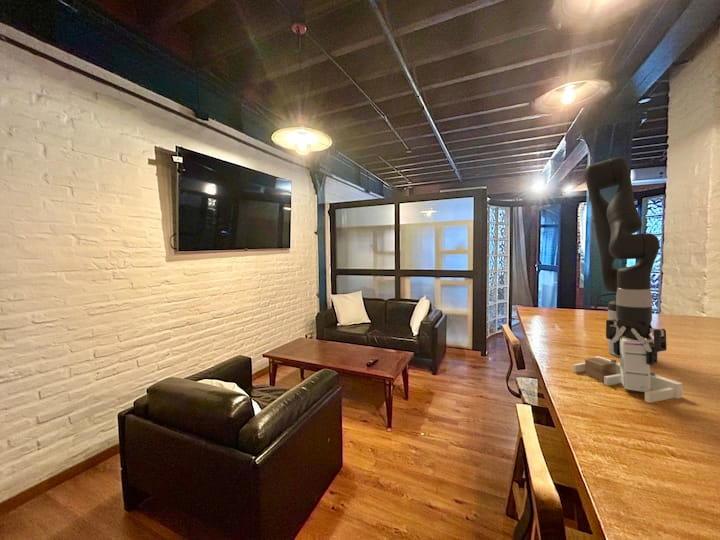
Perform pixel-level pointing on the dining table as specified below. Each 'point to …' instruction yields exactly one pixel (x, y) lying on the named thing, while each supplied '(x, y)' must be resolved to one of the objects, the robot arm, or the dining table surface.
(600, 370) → the walnut block
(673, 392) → the notch rail
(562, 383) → the dining table surface
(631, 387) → the syrup box
